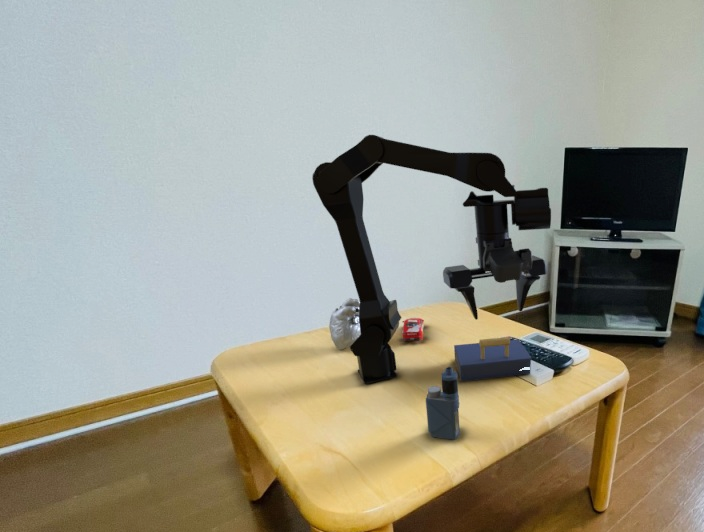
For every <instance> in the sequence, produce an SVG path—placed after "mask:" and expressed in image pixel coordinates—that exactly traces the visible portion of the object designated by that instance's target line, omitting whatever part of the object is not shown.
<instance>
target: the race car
mask: <svg viewBox="0 0 704 532" xmlns="http://www.w3.org/2000/svg"><path fill="white" fill-rule="evenodd" d="M402 323H403V327H402V331H401V335H402V341H404V342H414V341H423V340H424V336H425V335H424V334H425V319H422V318H420V317H410V318H406V319H405V320H403V321H402Z"/></svg>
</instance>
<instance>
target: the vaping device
mask: <svg viewBox="0 0 704 532" xmlns="http://www.w3.org/2000/svg"><path fill="white" fill-rule="evenodd" d="M440 377H441V387H440V386H437V385H432V386H429V387H428V388H427V394H426V398H425V409H426V420H427V429H428V433H429V435H430V436H431V437H432V438H439V439H446V440H456V439H458V437H459V436H460V432H461V431H460V415H459V414H460V412H459V408H460V395H459V383H458V381H459V379H458V371H455V370H453V367H452V366H446V367H445V369H444V371H442V372H441V374H440Z"/></svg>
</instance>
